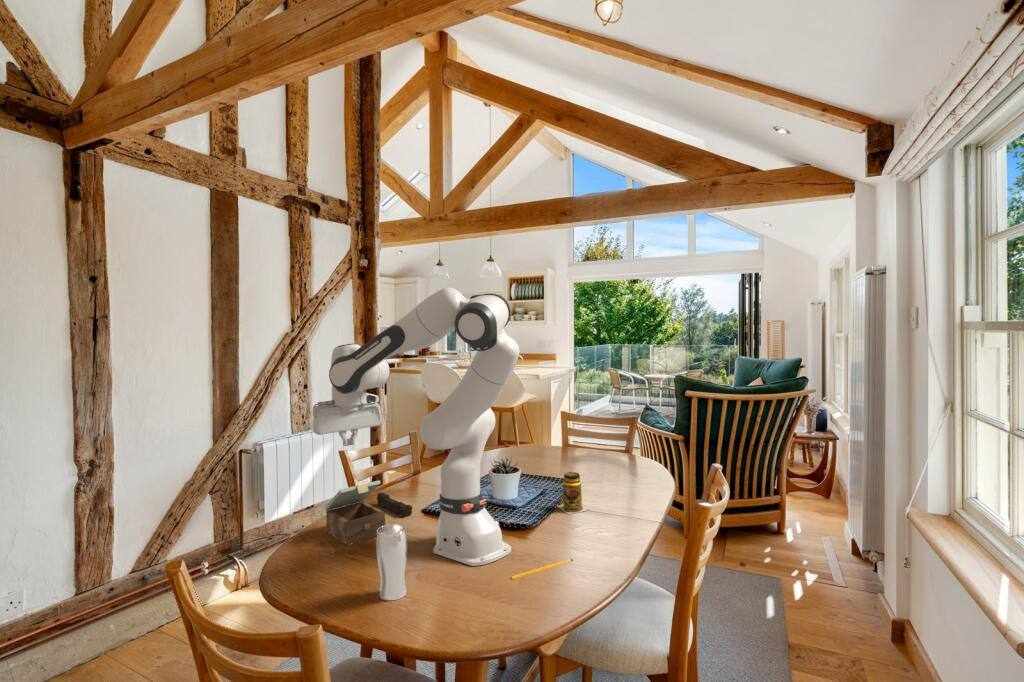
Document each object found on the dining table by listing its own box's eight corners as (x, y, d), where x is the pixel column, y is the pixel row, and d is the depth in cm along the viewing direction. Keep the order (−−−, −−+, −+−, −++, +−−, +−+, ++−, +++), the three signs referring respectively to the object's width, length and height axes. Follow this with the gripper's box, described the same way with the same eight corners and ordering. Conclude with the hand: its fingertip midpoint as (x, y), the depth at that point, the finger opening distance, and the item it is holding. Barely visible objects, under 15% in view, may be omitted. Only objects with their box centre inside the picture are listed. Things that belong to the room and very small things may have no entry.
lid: (383, 487, 151) (380, 479, 152) (343, 497, 142) (341, 488, 143) (365, 505, 160) (363, 497, 161) (327, 516, 151) (324, 507, 152)
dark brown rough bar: (413, 516, 165) (412, 502, 165) (402, 519, 163) (401, 504, 163) (385, 502, 179) (384, 489, 179) (374, 505, 177) (374, 492, 177)
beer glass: (380, 587, 118) (378, 524, 118) (410, 585, 119) (408, 522, 119) (374, 603, 111) (373, 535, 111) (406, 600, 112) (404, 534, 112)
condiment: (568, 514, 163) (567, 477, 163) (556, 506, 171) (555, 471, 171) (587, 511, 166) (587, 474, 166) (574, 503, 174) (574, 468, 173)
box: (386, 534, 150) (386, 512, 149) (348, 546, 141) (347, 523, 141) (363, 521, 160) (363, 501, 160) (327, 532, 152) (326, 510, 152)
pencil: (573, 562, 130) (573, 559, 130) (512, 580, 121) (512, 577, 121) (571, 560, 131) (571, 558, 131) (510, 579, 121) (510, 576, 121)
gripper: (316, 403, 139) (318, 453, 139) (383, 396, 153) (384, 441, 153) (308, 401, 144) (309, 449, 144) (373, 394, 158) (374, 438, 158)
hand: (348, 445), depth 149 cm, fingers closed
